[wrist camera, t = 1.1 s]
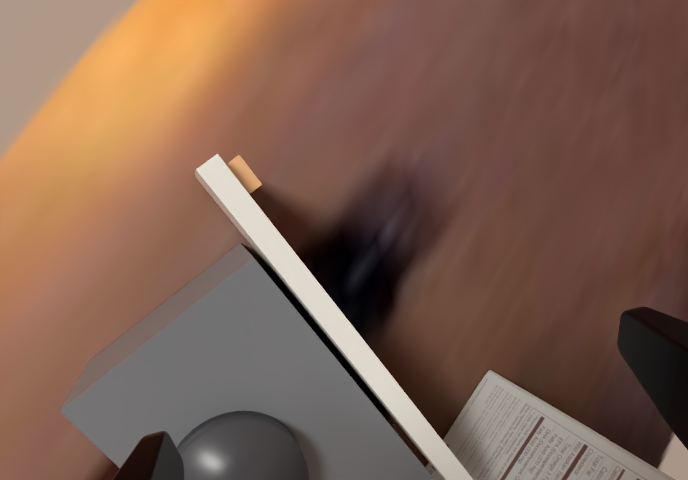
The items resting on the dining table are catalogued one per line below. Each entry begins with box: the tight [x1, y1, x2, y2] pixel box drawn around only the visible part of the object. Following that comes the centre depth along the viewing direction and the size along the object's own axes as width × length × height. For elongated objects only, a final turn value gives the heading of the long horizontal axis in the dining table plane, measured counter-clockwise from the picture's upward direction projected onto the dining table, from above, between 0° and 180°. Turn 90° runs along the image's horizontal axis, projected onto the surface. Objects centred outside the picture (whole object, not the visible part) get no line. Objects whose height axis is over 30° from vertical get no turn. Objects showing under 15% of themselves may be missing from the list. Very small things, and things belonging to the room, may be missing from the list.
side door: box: [195, 154, 473, 480], centre depth 20 cm, size 1×16×7 cm, turn 37°
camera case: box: [60, 243, 433, 480], centre depth 20 cm, size 8×12×6 cm, turn 37°
